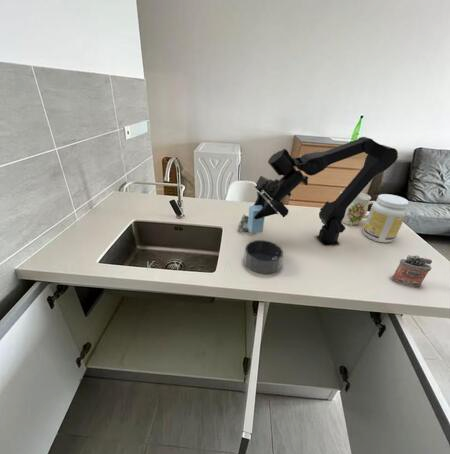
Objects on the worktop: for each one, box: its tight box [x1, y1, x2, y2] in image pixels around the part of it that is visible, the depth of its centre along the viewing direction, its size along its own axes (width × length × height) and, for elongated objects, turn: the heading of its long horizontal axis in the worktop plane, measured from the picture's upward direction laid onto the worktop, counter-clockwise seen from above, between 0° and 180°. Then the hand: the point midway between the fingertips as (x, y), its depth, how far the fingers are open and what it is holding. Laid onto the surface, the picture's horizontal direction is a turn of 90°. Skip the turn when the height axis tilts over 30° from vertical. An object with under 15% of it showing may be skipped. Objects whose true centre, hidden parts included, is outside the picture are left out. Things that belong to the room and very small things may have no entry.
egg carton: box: [238, 213, 252, 234], centre depth 103 cm, size 11×8×4 cm
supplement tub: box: [362, 193, 410, 243], centre depth 99 cm, size 12×12×17 cm
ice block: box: [247, 205, 265, 234], centre depth 88 cm, size 4×4×9 cm
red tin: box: [390, 254, 433, 289], centre depth 75 cm, size 8×3×10 cm, turn 69°
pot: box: [243, 239, 284, 275], centre depth 81 cm, size 12×12×6 cm
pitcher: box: [339, 190, 376, 226], centre depth 110 cm, size 11×18×14 cm, turn 82°
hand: (252, 215), depth 87 cm, fingers closed on ice block, 4 cm apart
